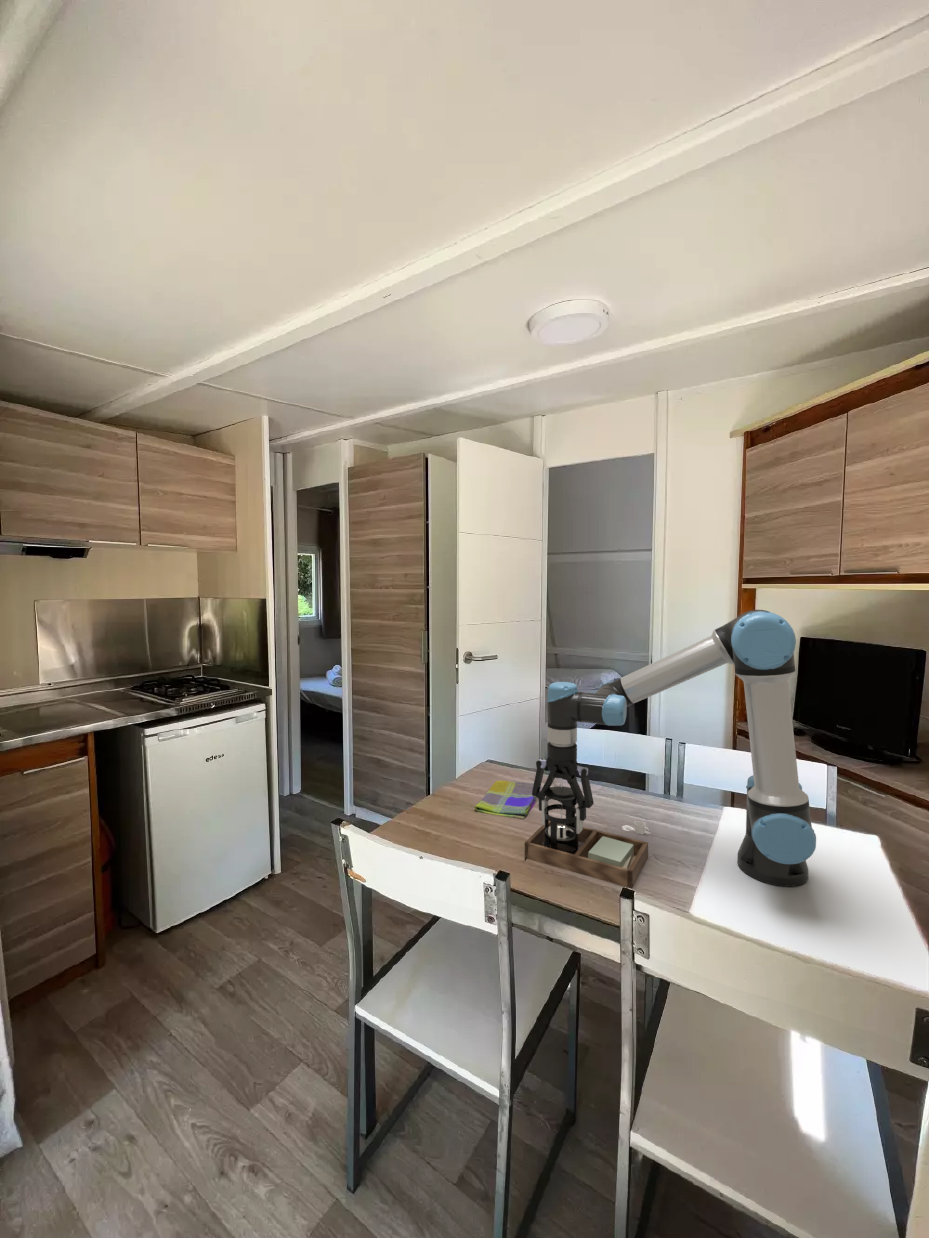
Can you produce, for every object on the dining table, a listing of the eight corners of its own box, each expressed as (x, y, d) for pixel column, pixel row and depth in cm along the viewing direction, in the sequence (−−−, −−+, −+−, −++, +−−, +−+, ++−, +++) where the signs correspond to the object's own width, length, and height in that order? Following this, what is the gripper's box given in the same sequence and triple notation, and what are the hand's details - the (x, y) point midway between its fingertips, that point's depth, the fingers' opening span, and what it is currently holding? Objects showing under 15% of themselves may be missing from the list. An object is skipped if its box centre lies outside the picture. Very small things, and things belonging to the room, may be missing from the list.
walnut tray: (647, 861, 135) (648, 842, 135) (631, 893, 121) (631, 872, 121) (549, 835, 149) (549, 818, 149) (524, 861, 136) (524, 842, 135)
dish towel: (471, 812, 166) (471, 804, 166) (495, 785, 189) (495, 777, 188) (525, 821, 160) (525, 812, 159) (543, 791, 182) (543, 783, 182)
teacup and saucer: (617, 832, 152) (617, 818, 152) (640, 828, 154) (640, 814, 154) (636, 846, 143) (636, 832, 143) (660, 841, 146) (660, 827, 146)
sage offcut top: (633, 852, 134) (633, 844, 133) (620, 870, 125) (620, 861, 125) (602, 843, 138) (602, 836, 138) (588, 860, 130) (588, 852, 130)
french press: (568, 870, 131) (569, 779, 130) (535, 858, 137) (535, 771, 135) (588, 851, 141) (589, 766, 139) (556, 840, 146) (556, 759, 145)
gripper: (607, 744, 134) (606, 831, 136) (530, 733, 146) (530, 812, 147) (598, 753, 128) (597, 843, 129) (518, 740, 139) (518, 823, 141)
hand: (561, 827), depth 138 cm, fingers closed on french press, 9 cm apart
